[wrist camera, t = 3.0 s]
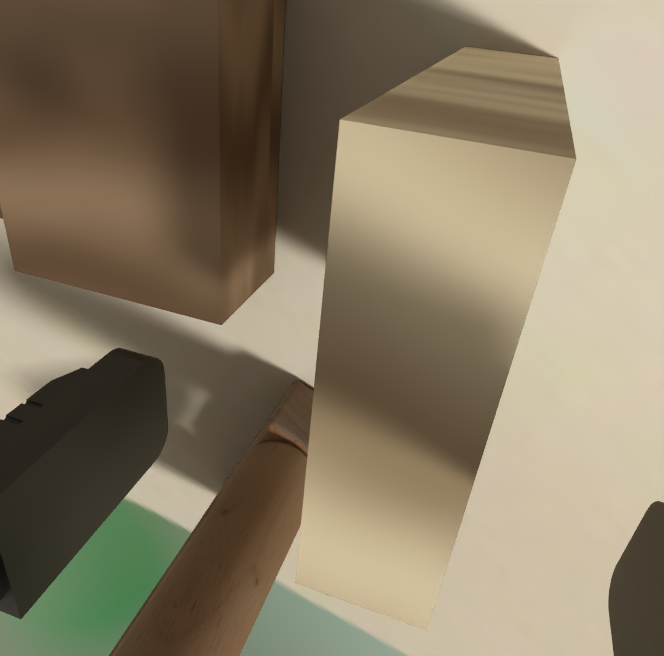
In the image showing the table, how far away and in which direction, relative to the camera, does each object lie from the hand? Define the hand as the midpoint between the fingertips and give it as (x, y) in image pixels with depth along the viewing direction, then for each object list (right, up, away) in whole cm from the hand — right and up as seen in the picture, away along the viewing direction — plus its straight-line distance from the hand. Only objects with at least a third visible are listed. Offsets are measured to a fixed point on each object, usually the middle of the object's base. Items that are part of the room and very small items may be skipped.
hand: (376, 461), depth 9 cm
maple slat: (+5, +7, +12) cm, 15 cm away
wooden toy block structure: (-3, -5, +22) cm, 23 cm away
